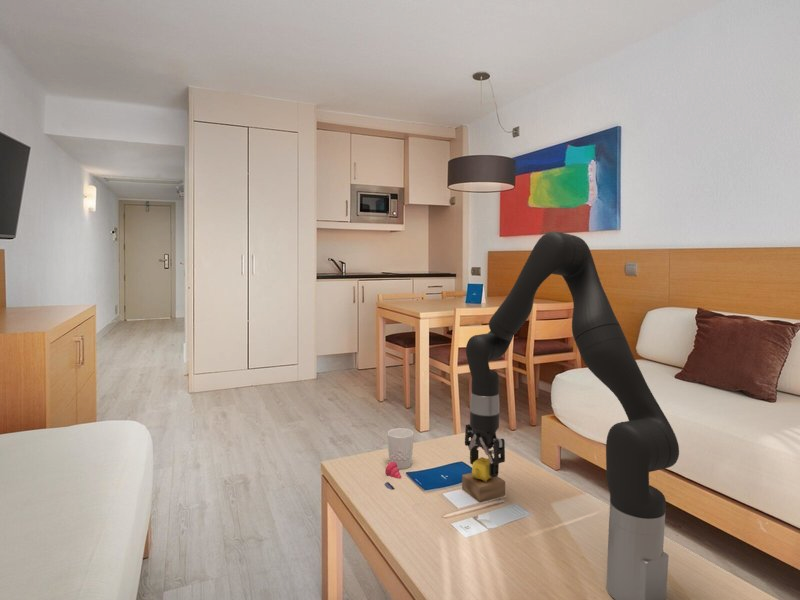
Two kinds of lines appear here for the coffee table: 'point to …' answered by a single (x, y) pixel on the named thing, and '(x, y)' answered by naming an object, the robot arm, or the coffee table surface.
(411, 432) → the white cup
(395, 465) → the toy pieces
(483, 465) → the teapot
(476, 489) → the base block
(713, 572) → the coffee table surface
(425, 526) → the coffee table surface
